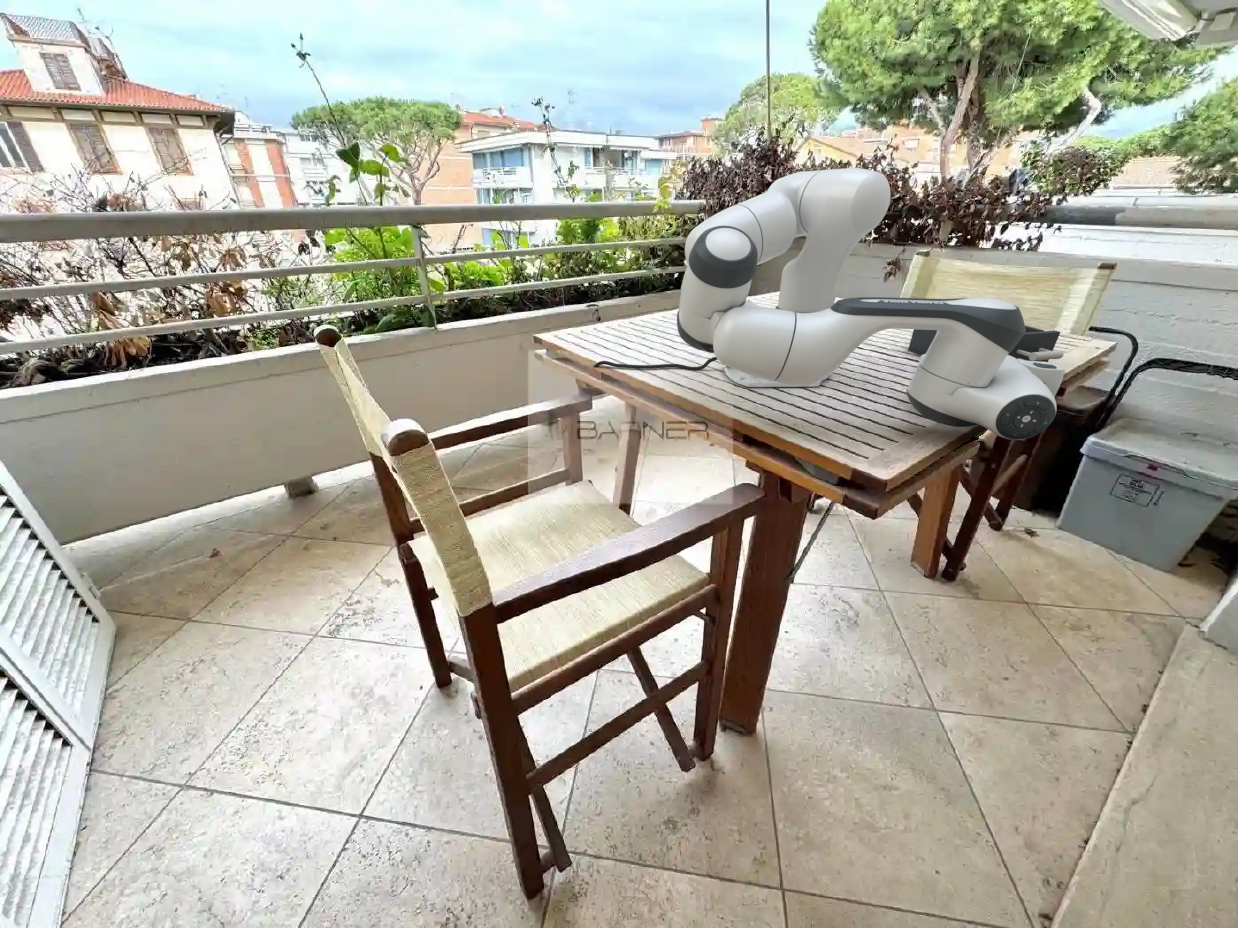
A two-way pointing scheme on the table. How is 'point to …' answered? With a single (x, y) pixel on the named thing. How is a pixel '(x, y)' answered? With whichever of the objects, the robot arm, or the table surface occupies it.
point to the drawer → (1037, 345)
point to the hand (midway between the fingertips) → (974, 359)
